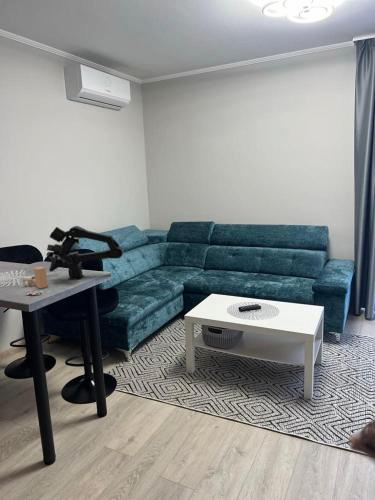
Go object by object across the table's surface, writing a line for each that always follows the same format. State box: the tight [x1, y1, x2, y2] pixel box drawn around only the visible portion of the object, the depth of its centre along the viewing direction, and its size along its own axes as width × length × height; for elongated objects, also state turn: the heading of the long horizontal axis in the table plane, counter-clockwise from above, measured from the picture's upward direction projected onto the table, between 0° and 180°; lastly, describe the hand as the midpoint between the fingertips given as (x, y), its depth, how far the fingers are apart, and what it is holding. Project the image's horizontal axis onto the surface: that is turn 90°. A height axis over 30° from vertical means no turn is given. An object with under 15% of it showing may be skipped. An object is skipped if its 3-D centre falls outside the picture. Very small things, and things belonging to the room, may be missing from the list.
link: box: [26, 267, 49, 289], centre depth 191 cm, size 14×5×10 cm, turn 47°
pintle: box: [27, 277, 37, 287], centre depth 195 cm, size 6×6×4 cm
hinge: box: [24, 261, 57, 282], centre depth 210 cm, size 17×5×10 cm, turn 114°
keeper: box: [18, 276, 32, 288], centre depth 192 cm, size 6×2×5 cm, turn 77°
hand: (50, 271), depth 193 cm, fingers closed
